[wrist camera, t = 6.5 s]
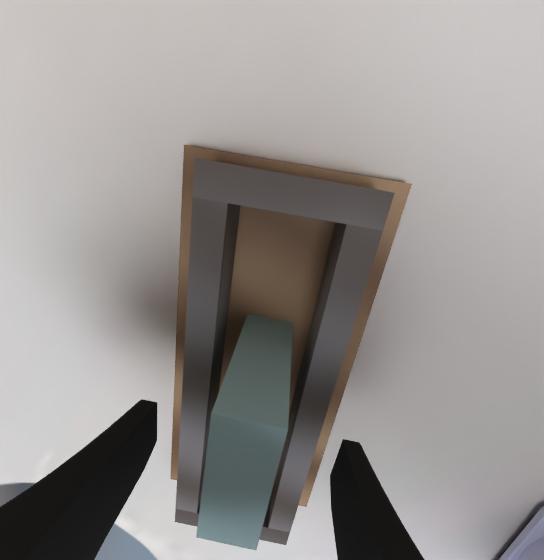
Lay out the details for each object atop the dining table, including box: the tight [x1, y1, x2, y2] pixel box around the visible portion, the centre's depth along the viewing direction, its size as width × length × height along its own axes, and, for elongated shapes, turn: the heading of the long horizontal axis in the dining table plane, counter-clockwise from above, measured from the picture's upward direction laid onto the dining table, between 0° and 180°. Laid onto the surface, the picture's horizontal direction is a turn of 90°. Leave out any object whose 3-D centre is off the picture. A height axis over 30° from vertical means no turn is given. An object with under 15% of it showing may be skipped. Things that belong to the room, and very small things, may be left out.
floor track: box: [171, 145, 412, 545], centre depth 14 cm, size 20×9×3 cm, turn 171°
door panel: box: [196, 314, 293, 550], centre depth 12 cm, size 6×2×6 cm, turn 170°
